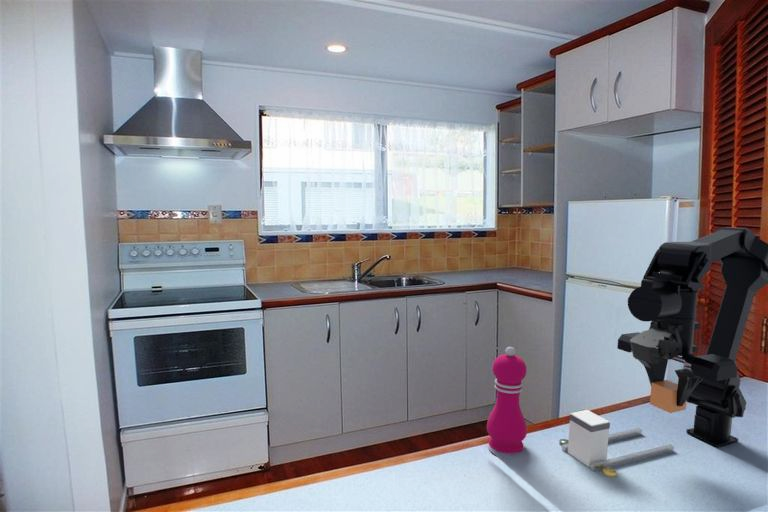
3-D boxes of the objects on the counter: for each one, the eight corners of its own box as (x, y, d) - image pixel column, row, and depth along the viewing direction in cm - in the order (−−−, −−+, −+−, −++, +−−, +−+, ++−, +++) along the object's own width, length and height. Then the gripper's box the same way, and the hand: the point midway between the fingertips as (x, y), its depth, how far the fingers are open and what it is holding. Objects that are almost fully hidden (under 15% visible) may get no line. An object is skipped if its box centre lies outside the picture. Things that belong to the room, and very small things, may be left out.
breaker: (585, 448, 90) (587, 409, 89) (606, 462, 86) (610, 421, 85) (567, 452, 89) (569, 413, 88) (588, 467, 84) (591, 425, 83)
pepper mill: (527, 463, 87) (533, 354, 85) (485, 458, 89) (490, 351, 86) (524, 443, 94) (529, 342, 92) (485, 439, 96) (489, 339, 93)
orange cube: (664, 400, 90) (666, 379, 90) (685, 409, 87) (687, 387, 86) (649, 404, 89) (651, 382, 88) (670, 413, 85) (672, 390, 84)
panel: (626, 430, 100) (627, 420, 100) (691, 466, 87) (692, 454, 87) (547, 448, 93) (547, 437, 92) (605, 489, 80) (606, 477, 80)
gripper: (599, 307, 91) (592, 388, 93) (698, 332, 74) (688, 431, 76) (641, 303, 95) (634, 380, 97) (744, 327, 78) (733, 420, 80)
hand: (667, 401), depth 87 cm, fingers closed on orange cube, 4 cm apart
